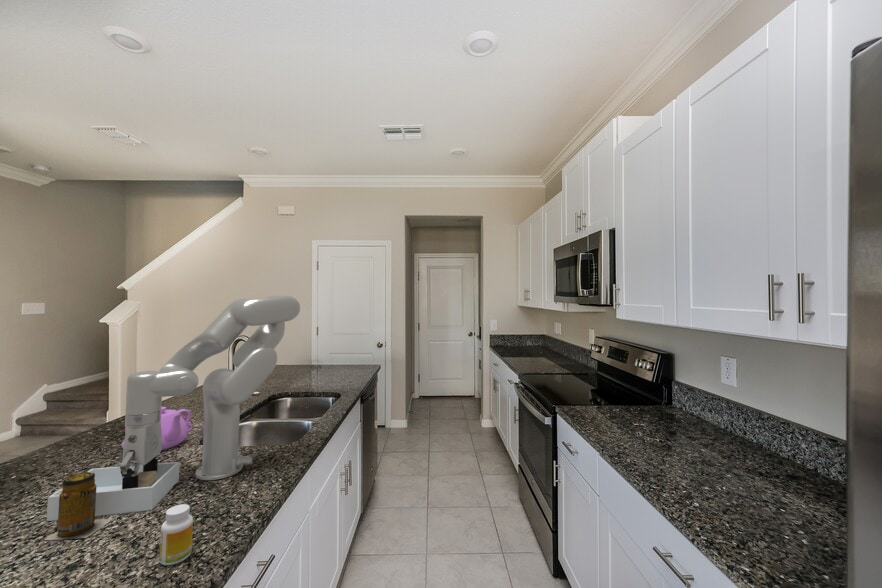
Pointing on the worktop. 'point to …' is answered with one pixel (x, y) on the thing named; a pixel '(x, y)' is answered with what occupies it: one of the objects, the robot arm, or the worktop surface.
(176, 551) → the supplement bottle
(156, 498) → the tote
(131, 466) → the robot arm
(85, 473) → the condiment
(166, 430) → the teapot
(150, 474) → the cube
